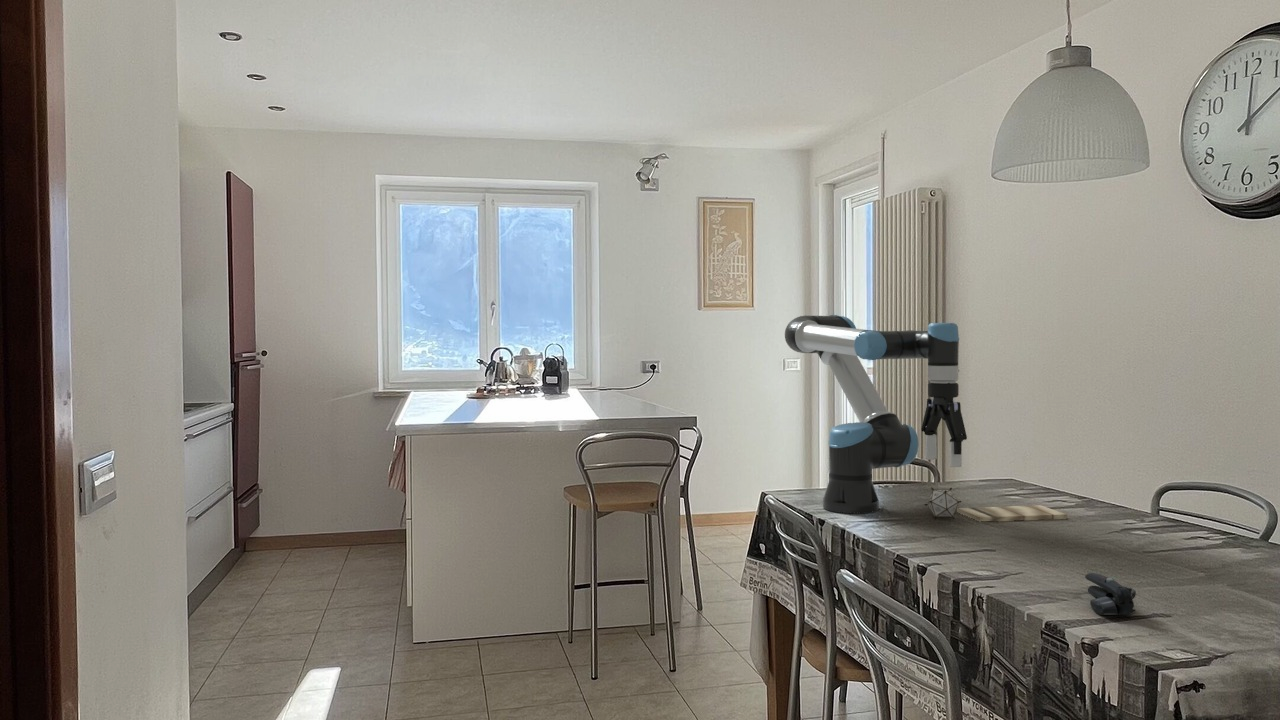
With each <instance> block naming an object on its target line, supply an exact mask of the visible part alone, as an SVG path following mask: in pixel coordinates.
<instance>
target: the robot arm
mask: <svg viewBox="0 0 1280 720" xmlns="http://www.w3.org/2000/svg"><path fill="white" fill-rule="evenodd" d="M959 336H960V335H959V326H958V324H957V323H955V322H931V323H929V324H928V327H927V330H875V329H874V330H871V329H863V328H857V327H856V324H855V323H854V322H853V321H852V320H851V319H850V318H848V317H847V316H845V315H837V314H830V315H800V316H797V317H795V318H793V319H791V320H790V321H789V322H788V324H787V325H786V327H785V330H784V340H785V342H786V344H787V346H788V347H789V348H790V349H791V350H792V351H794V352H797V353H801V354H817V355H818V356H819V359H820V360H821V362H822V363H823V364H824V365H827V366H829V367H830V369H831V370H832V373H833V375H834V376H835V379H836V380H837V382H838V384H839V386H840V388H841V389H842V391H843V393H844V395H845V397H846V399H847V402H848V403H849V405H850V407H851V408H852V410H853V413H854V414H855V416H856V418H857V420H858V422H847V423H842V424H838V425H835V426H833V427H832V428H831V430H830V431H829V437H828V438H829V439H828V448H829V449H828V451H829V453H828V454H829V455H828V456H829V457H828V459H829V462H828V463H829V464H828V465H829V468H828V471H829V472H828V473H829V475H828V476H829V477H828V483H827V486H826V488H825V491H824V495H823V498H822V499H823V500H822V507H823V509H824V510H827V511H830V512H834V513H840V512H841V513H842V512H843V513H842V514H869V513H875V512H877V511H879V510H880V502H879V497H878V494H877V492H876V488H875V486H874V483H873V470H874V469H875V470H876V469H885V468H886V469H887V468H900V467H903V466H909V465H910V464H911V463H912V462H913V461H914V460H915V458H916V456H917V455H918V452H919V436H918V433H917V432H916V430H915V428H914V427H912V426H911V425H909V424H905V423H904V424H903V423H901V421H900V419H899V417H898V416H897V414H896V413H894V412H891V411H889V410H888V409H887V407H886V405H885V403H884V402H883V399H882V398H881V396H880V394H879V393H878V391H877V389H876V387H875V385H874V384H873V382H872V381H871V380H872V379H870V376H869V375H868V373H867V371H866V369H865V368H864V366H863V364H862V362H861V360H860V359H862V360H868V361H875V360H900V359H901V360H902V359H903V360H905V359H906V360H907V359H909V360H910V359H917V360H918V359H927V380H928V381H929V383H928V384H927V395H928V397H929V398H927V399H926V408H925V411H924V416H923V420H922V425H921V432H924V435H925V460H930V461H931V460H938V459H937V458H938V456H937V455H938V454H937V453H938V451H937V449H938V447H937V443H938V442H937V439H938V437H937V435H938V433H937V429H938V428H939V425H940V422H941V420H943V421H944V422H945V425H946V427H947V430H948V433H949V436H950V440H949V467H950V468H962V463H963V462H962V460H963V458H962V457H963V456H962V446H963V445H962V443H963V442H964V441H965V440H967V439H968V436H967V432H966V427H965V423H964V419H963V414H962V408H961V407H962V406H961V402H960V401H954V398H958V397H959V389H960V388H959V383H958V382H957V381H958V380H959V373H960V369H959V347H960V345H959V341H960V337H959ZM859 358H860V359H859Z"/></svg>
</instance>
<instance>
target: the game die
mask: <svg viewBox="0 0 1280 720" xmlns="http://www.w3.org/2000/svg"><path fill="white" fill-rule="evenodd" d="M930 489H931V490H932V491H931V493H930V496H929V499H928V501H927V503H924V504H923V505H924V506H928V508H929V510H930V511H931V512H932V514H933V520H935V519H937V518H952V520H954V519H955V516H954V514H955V512H956V511H957V508H958V505H959V504H960V503H963V501H962V500H958V499H957V497H956V496H955V495H954V493H953V492H952V487H949V489H934V487H933V486H932V487H930ZM955 520H956V519H955Z"/></svg>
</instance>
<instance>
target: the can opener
mask: <svg viewBox="0 0 1280 720" xmlns="http://www.w3.org/2000/svg"><path fill="white" fill-rule="evenodd" d="M1084 576H1085V577H1084V578H1085V579H1086V580H1087V581H1089V582H1091V583H1093V584H1094V585H1089V587H1088V588H1087V593H1089V594H1090V595H1091V596H1093V597H1095V598H1094V599H1091V600H1090V601H1089V605H1090V607H1091V609H1092V611H1093V612H1094V613H1096V614H1097V615H1100V616H1117V615H1119V616H1127V615H1131V614H1133V613H1135V612H1136V609H1135V608H1134V607H1135V602H1134V599H1135V598H1136V595H1137V591H1136V589H1135V588H1132V587H1126V586H1125V585H1124V586H1123V585H1122V584H1120V583H1118V582H1117V581H1115V579H1113V578H1112V577H1108V576H1106V575H1103V574H1100V573H1094V572H1089V573H1087V574H1086V575H1084Z"/></svg>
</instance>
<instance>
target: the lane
mask: <svg viewBox="0 0 1280 720" xmlns="http://www.w3.org/2000/svg"><path fill="white" fill-rule="evenodd" d="M957 512H958V513H957ZM956 513H957V514H959V513H961V514H960V515H962V514H963V515H962V516H964V515H966V516H968V517H967V518H969V517H970V518H969V519H971V518H973V519H975V520H974V521H976V520H977V522H978V521H998V522H1015V521H1014V520H1024V521H1039V520H1038V519H1051V520H1068V513H1064V512H1061V511H1059V510H1056V509H1053V508H1050V507H1047V506H1044V505H1040V504H1035V505H1012V506H1011V505H1010V506H1009V505H1008V506H984V507H983V506H982V507H981V506H980V507H979V506H978V507H957V508H956ZM966 516H965V517H966ZM973 519H972V520H973Z"/></svg>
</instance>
